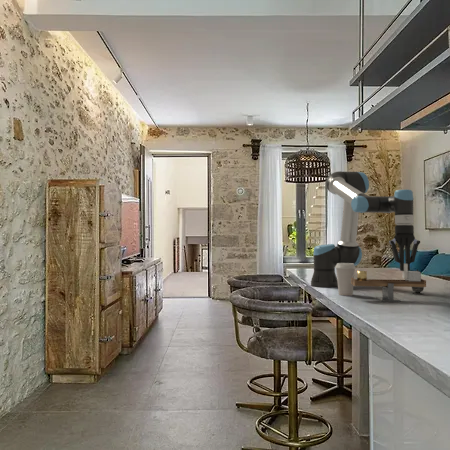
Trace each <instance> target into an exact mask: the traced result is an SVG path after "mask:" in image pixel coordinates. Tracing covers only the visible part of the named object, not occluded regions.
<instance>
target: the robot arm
mask: <svg viewBox="0 0 450 450" xmlns="http://www.w3.org/2000/svg"><path fill="white" fill-rule="evenodd" d="M325 187H326V189H327V190H328V192H329V193H331V194H333V195H337V196H339V197H340V198H342V199H343V208H342V209H343V210H342V218H341V219H342V221H341V230H340V240H338V241H337V244H336V245H335V244H334V243H328V244H319V245H315V246H314V248H313V274H312V277H311V280H310V286H312V287H317V288H336V287H337V288H338V281H337V273H336V268H335V266H336V265H337V263H353V264H354V266H355V267H356V266H358V265H360V263H361V261H362V257H363V252H362V251H363V250H362V248H361V246H359V245H360V244H359V243H358V242H357V236H358V234H357V233H358V226H359V225H358V224H359V216H360V214H364V213H368V214H369V213H373V214H374V213H376V214H377V213H380V214H381V213H382V214H392V213H394V224H395V226H394V237H393V239H391V240H389V241H388V243H389V245H390V247H391V249H392V253H393V258H394V261H395V262H396V263H399V271H400V272H401V276H402V280H405V279H408V271H411V265H410V264H412V263H414V262H415V259H416V256H417V252H418V251H417V250H418V247H419V245H420V244H421V240H419V239H416V237H415V232H414V231H415V230H414V229H415V228H414V225H413V224H414V195H413V194H414V191H413V190H411V189H397V190H396V189H395V191H394V194H393V195H392V196H391V195H389V196H383V195H382V196H377V195H375V196H373V195H371V196H369V195H367V194H366V193H368V191H369V189H370V181H369V177H368V175H367V174H365V172H363V171H362V172H361V171H342V170H341V171H335V172H332V173H330V174H329V175H328V176H327V178H326V179H325ZM396 243H397V244H398V247H397V245H396ZM411 245H412V248H411ZM397 248H399V249H397ZM398 251H399V252H398Z"/></svg>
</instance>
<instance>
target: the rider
mask: <svg viewBox="0 0 450 450" xmlns="http://www.w3.org/2000/svg"><path fill="white" fill-rule="evenodd" d="M420 273H421V271H419V272H417V270H410V271H408V279H404V280H405V281H413V282H421V279H422V278H421V277H422V273H421V274H420Z"/></svg>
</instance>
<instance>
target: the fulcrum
mask: <svg viewBox="0 0 450 450" xmlns="http://www.w3.org/2000/svg"><path fill="white" fill-rule="evenodd" d="M394 289H395V287H394V283H388V286H381V290H382V291H381V292H382V294H381V296H375V299H376V300H377V301H379V302H380V303H401V299H399V298H397V297H395V296H394Z"/></svg>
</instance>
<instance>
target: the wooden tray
mask: <svg viewBox="0 0 450 450" xmlns="http://www.w3.org/2000/svg"><path fill="white" fill-rule="evenodd" d="M388 283H394V288H395V287H396V288H397V287H402V288H403V287H404V288H412V287H424V288H426V287H427V280H426V279H422V278H421V282H413V281H405V279H375V278H374V279H371V278H370V279H369V278H367V281H357V278H355V277H354V278H351V284H352V285H353V287H382V286H388Z"/></svg>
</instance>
